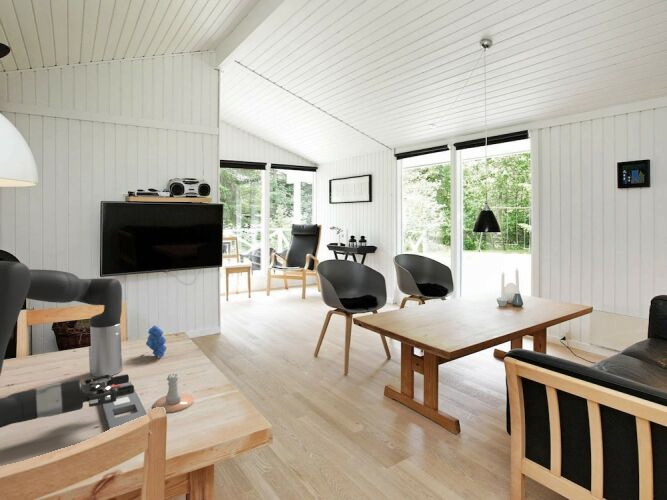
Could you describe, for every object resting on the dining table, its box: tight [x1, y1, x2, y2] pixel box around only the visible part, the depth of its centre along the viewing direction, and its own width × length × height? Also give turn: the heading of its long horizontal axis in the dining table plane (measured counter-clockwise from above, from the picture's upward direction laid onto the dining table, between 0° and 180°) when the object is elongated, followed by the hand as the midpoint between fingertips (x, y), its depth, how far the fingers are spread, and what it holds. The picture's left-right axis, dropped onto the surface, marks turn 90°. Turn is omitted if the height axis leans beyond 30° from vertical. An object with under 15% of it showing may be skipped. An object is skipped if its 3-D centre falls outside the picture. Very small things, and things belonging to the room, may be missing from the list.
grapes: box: [145, 325, 167, 358], centre depth 155 cm, size 12×7×12 cm, turn 50°
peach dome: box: [153, 392, 195, 414], centre depth 116 cm, size 11×11×1 cm
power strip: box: [101, 380, 148, 429], centre depth 114 cm, size 30×9×2 cm, turn 36°
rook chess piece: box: [165, 373, 182, 405], centre depth 116 cm, size 4×4×8 cm
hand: (131, 383), depth 109 cm, fingers open, 8 cm apart
